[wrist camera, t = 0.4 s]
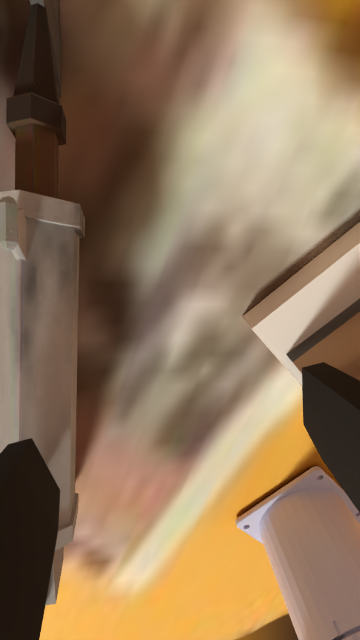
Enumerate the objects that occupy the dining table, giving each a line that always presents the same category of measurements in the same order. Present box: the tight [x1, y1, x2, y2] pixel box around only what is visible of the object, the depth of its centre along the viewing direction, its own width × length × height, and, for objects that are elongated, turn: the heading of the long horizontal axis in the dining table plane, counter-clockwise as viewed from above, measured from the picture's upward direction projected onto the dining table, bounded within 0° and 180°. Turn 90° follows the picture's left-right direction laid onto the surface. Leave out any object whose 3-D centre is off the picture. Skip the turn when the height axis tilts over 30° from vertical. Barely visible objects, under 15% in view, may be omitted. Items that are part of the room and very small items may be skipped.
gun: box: [0, 0, 85, 605], centre depth 15 cm, size 5×27×15 cm, turn 174°
